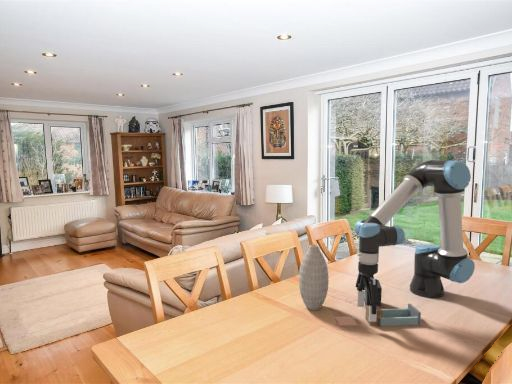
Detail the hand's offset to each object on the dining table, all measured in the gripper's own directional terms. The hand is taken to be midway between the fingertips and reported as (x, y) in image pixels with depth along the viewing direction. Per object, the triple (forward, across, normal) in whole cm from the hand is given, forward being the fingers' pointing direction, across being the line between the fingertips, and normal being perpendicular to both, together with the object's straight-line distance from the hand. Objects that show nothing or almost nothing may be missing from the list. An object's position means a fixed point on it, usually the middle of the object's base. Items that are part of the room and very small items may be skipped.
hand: (366, 313), depth 143 cm
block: (+4, 0, +3) cm, 5 cm away
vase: (+4, -15, -18) cm, 24 cm away
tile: (+4, 0, -8) cm, 9 cm away
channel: (+3, 0, +12) cm, 12 cm away
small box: (+4, -15, +8) cm, 17 cm away
